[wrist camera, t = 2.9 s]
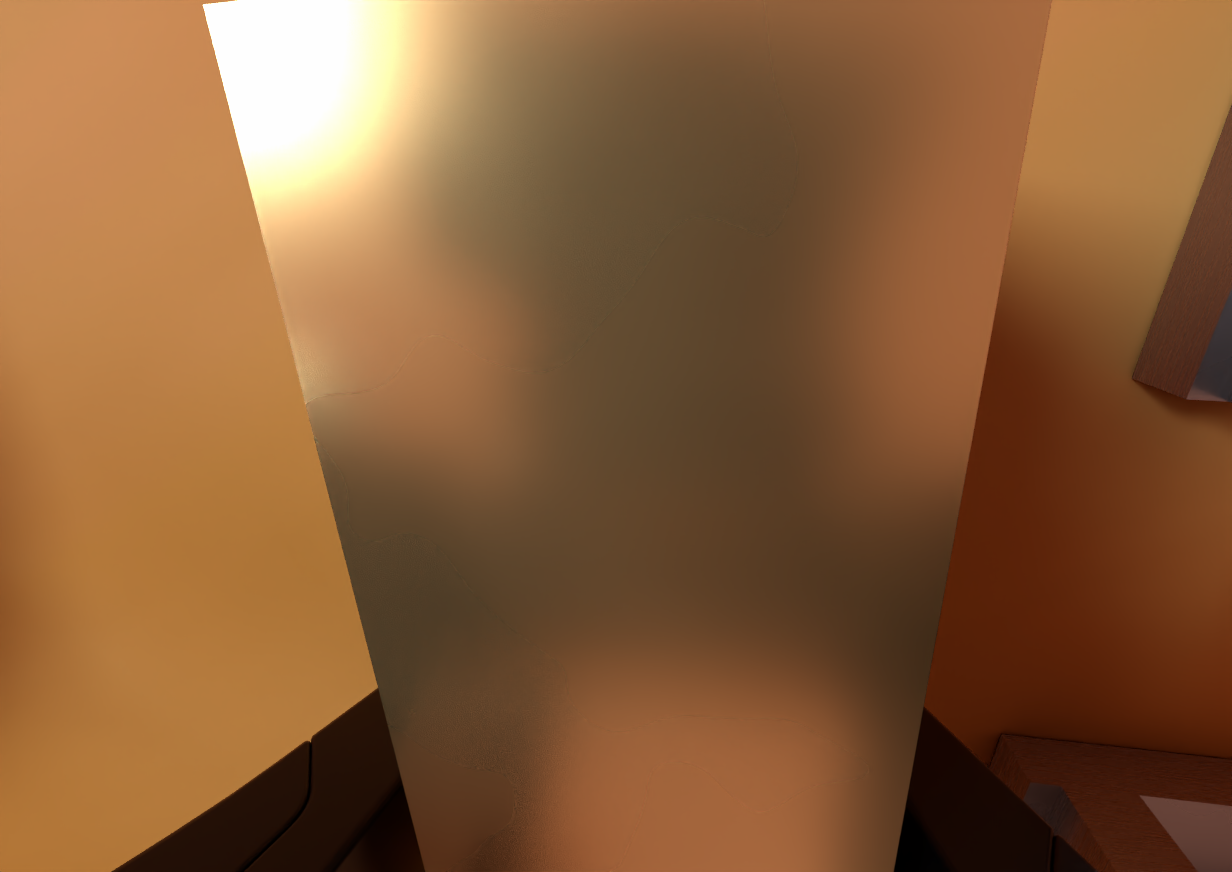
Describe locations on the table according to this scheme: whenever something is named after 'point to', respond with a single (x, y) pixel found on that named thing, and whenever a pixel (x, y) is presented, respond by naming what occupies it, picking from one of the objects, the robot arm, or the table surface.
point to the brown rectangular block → (641, 393)
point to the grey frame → (1132, 778)
